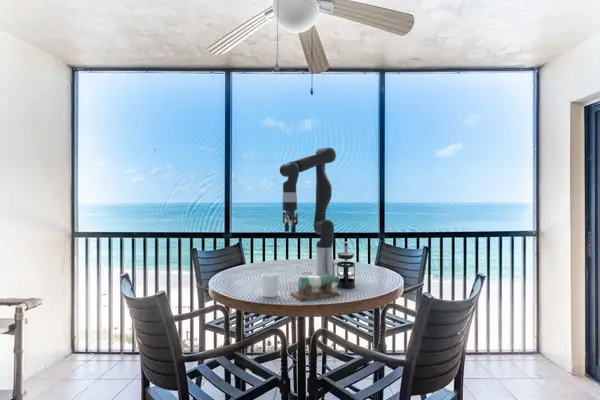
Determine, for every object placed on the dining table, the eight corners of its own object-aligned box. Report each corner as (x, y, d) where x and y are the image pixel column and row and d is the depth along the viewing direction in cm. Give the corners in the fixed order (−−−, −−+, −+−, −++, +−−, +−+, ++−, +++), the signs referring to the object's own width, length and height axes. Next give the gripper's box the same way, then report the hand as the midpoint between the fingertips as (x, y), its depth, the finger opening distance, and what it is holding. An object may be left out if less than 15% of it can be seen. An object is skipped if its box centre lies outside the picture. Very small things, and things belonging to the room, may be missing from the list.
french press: (355, 284, 174) (355, 240, 174) (357, 288, 165) (357, 243, 165) (333, 283, 175) (332, 240, 175) (334, 288, 166) (333, 243, 166)
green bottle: (333, 282, 163) (334, 271, 162) (339, 288, 158) (341, 276, 157) (297, 287, 155) (298, 274, 154) (303, 293, 150) (304, 280, 149)
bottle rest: (327, 289, 164) (327, 277, 164) (339, 295, 154) (339, 282, 154) (290, 294, 156) (290, 281, 156) (300, 301, 146) (300, 287, 146)
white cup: (262, 293, 158) (262, 272, 158) (278, 292, 159) (278, 272, 159) (261, 298, 150) (261, 276, 150) (279, 297, 151) (278, 275, 151)
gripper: (302, 201, 167) (302, 233, 167) (290, 201, 180) (291, 230, 180) (288, 201, 164) (288, 234, 164) (278, 201, 177) (278, 231, 177)
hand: (290, 232), depth 172 cm, fingers open, 8 cm apart
